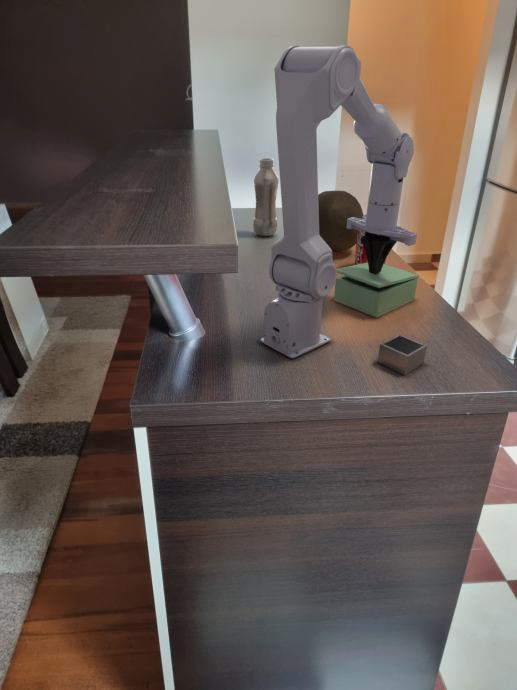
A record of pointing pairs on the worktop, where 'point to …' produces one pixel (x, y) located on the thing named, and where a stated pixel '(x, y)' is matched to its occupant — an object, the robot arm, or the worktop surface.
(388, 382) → the worktop surface
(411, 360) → the small grey square box
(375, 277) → the lunchbox lid
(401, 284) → the box
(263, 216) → the plastic bottle
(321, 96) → the robot arm
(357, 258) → the soda can
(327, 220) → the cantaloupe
